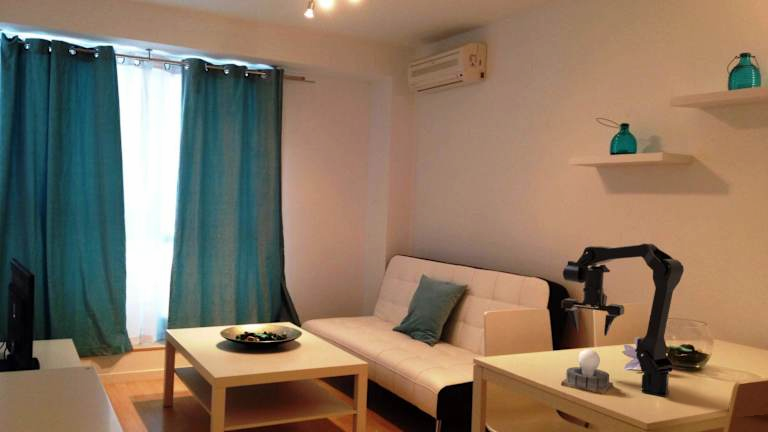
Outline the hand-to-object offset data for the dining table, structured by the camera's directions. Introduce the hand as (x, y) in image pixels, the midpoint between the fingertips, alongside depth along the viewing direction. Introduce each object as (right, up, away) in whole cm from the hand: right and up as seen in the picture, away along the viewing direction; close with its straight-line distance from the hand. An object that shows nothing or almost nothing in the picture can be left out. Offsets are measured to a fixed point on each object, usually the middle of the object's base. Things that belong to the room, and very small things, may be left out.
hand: (591, 333), depth 213 cm
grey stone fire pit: (-6, -13, -14) cm, 20 cm away
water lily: (+19, -14, +8) cm, 25 cm away
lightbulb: (-6, -13, -14) cm, 20 cm away
